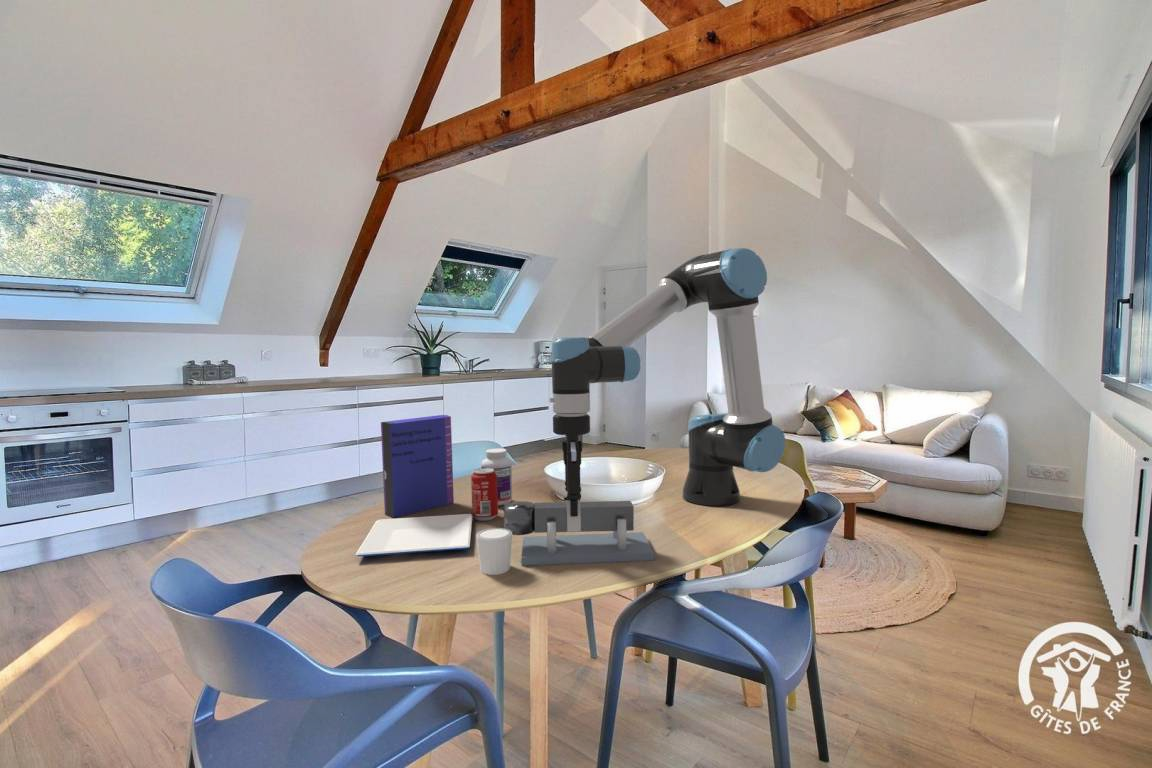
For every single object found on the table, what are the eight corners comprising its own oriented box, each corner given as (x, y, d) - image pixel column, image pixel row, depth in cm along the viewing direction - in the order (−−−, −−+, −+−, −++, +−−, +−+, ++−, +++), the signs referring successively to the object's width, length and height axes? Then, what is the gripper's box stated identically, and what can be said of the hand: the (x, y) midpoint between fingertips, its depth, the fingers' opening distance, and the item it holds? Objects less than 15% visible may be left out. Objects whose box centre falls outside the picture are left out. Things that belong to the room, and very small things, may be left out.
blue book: (444, 500, 155) (441, 414, 154) (453, 503, 152) (450, 415, 150) (384, 514, 143) (380, 421, 141) (393, 518, 140) (389, 423, 138)
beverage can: (500, 514, 142) (499, 467, 141) (494, 522, 135) (493, 473, 134) (476, 513, 142) (474, 467, 141) (469, 521, 136) (467, 473, 135)
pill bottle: (487, 498, 156) (486, 447, 155) (515, 498, 155) (514, 447, 154) (478, 506, 148) (476, 453, 147) (508, 507, 147) (506, 453, 146)
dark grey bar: (629, 522, 119) (629, 498, 118) (634, 532, 112) (634, 507, 112) (505, 525, 117) (505, 501, 117) (503, 535, 111) (502, 510, 110)
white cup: (507, 577, 103) (506, 540, 103) (471, 575, 104) (470, 538, 104) (517, 562, 110) (516, 528, 109) (484, 561, 111) (483, 526, 111)
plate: (355, 564, 111) (354, 554, 111) (377, 527, 133) (376, 519, 133) (469, 555, 115) (469, 545, 115) (472, 521, 137) (472, 513, 137)
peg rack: (643, 538, 122) (642, 505, 122) (654, 560, 110) (653, 522, 110) (523, 543, 120) (522, 509, 120) (521, 565, 109) (520, 527, 108)
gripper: (551, 409, 121) (553, 515, 123) (553, 420, 104) (556, 542, 106) (586, 408, 122) (588, 513, 123) (593, 419, 105) (595, 541, 106)
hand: (573, 526), depth 115 cm, fingers closed on dark grey bar, 4 cm apart
